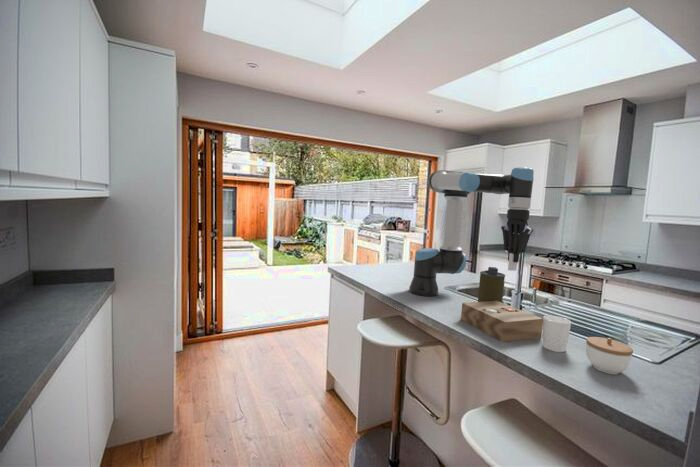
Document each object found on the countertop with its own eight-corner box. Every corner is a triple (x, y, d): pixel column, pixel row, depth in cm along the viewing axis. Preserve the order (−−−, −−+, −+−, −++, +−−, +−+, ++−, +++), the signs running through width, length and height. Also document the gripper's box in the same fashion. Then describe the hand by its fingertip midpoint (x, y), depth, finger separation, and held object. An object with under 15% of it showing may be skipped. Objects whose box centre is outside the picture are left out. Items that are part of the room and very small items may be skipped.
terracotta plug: (500, 322, 128) (501, 307, 127) (507, 321, 129) (509, 307, 128) (508, 326, 124) (509, 311, 123) (516, 325, 125) (517, 310, 125)
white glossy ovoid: (481, 324, 125) (483, 309, 124) (490, 323, 126) (491, 308, 125) (489, 328, 121) (491, 312, 120) (497, 327, 122) (499, 311, 122)
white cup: (540, 341, 114) (543, 313, 114) (567, 347, 110) (570, 318, 110) (540, 348, 108) (543, 319, 107) (568, 355, 104) (572, 325, 103)
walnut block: (460, 319, 132) (462, 302, 132) (495, 316, 138) (496, 300, 138) (503, 341, 112) (505, 322, 111) (541, 337, 118) (543, 318, 117)
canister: (505, 315, 140) (510, 270, 139) (481, 314, 141) (486, 269, 139) (495, 308, 151) (499, 265, 150) (472, 306, 151) (476, 264, 150)
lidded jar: (580, 367, 96) (583, 337, 95) (587, 357, 103) (590, 328, 102) (627, 383, 88) (632, 350, 87) (631, 370, 96) (635, 340, 95)
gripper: (497, 208, 128) (491, 266, 130) (525, 209, 116) (518, 274, 118) (512, 209, 130) (506, 266, 133) (541, 210, 118) (533, 273, 120)
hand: (512, 270), depth 125 cm, fingers closed
